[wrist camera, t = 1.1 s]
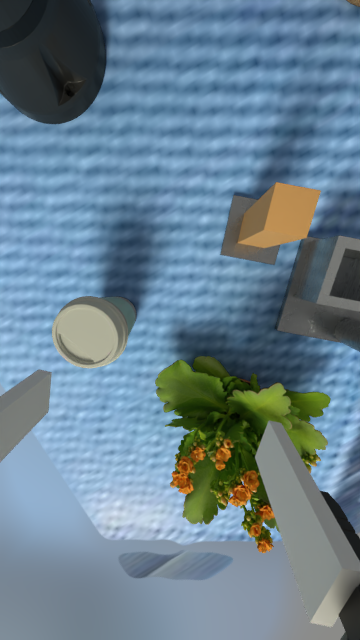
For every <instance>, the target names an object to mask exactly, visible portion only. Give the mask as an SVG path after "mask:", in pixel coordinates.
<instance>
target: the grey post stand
mask: <svg viewBox="0 0 360 640" xmlns="http://www.w3.org/2000/svg"><path fill="white" fill-rule="evenodd" d="M275 329H276V330H277V331H283V332H288V333H293V334H298V335H304V336H309V337H314V338H319V339H325V340H330V341H335V342H340V343H343V344H345V345H347V346H349V347H351V348H353V349H355V350H357V351H359V352H360V239H355V238H350V237H344V236H334V237H329V238H324V239H318V238H313V237H308V236H307V238H304V239H301V243H300V246H299V249H298V253H297V256H296V259H295V263H294V266H293V269H292V273H291V276H290V279H289V283H288V286H287V290H286V293H285V296H284V300H283V303H282V306H281V310H280V313H279V316H278V320H277V323H276V326H275Z"/></svg>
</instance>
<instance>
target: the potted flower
mask: <svg viewBox="0 0 360 640" xmlns="http://www.w3.org/2000/svg"><path fill="white" fill-rule="evenodd" d="M193 368H194V369H195V370H196V372H194V371H193V370H192V369H191V367H190V366H189V365H188V364H187V363H186V362H185V361H183V360H177V361H176V362H175V363H173V364H172V365H171V366H169V367H167V368H166V369H164V370H163V371H162V372H160V373H159V375H158V378H157V379H156V381H155V384H156V386H158V387H159V388H158V389H157V390H156V393H157V396H158V397H160V400H161V401H162V402H164V403H166V404H164V407H163V409H164V412H170V411H172V410H175V411H174V413H175V414H176V415H178V416H182V417H183V418H181V419H173V420H172V423H171V424H167V425H165V427H167V426H174V427H181V426H183V428H184V429H186V430H188V431H192V430H194V429H195V430H194V431H193V432H190V433H188V434H187V435H184V436H183V438H184V440H181V445H180V446H179V447H178V450H179V451H180V452H179V453H178V454H176V455H175V457H176V458H175V459H176V461H177V463H176V464H175V469H176V471H173V473H172V477H173V481H172V482H171V483H170V486H171V487H172V488H174V487H177V488H180V489H179V492H180V493H181V492H182V493H183V494H187V495H186V497H185V502H184V507H185V508H184V511H183V516H182V517H183V518H184V517H186V519H187V520H188V521H189V522H190V523H192V524H197V523H198V522H199V523H200V524H202V522H203V521H204V523H205V524H206V525H208V524H209V523H210V522H211V521H212V520H213V519H214V515H215V516H217V515H218V507H217V504H218V506H219V508H220V509H221V510H225V509H226V507H227V504H228V502H230V503H232V505H234V506H236V507H238V506H241V505H242V506H241V507H240V508H243V509H244V511H245V516H244V521H243V522H242V525H241V526H243V528H244V530H246V528H247V531H248V534H249V536H250V537H251V538H252V537H255V542H256V544H258V546H257V548H258V549H259V552H261V551H262V553H265V552H266V551H267V550H268V551H270V549H272V547H273V545H272V542H273V541H272V538H271V537H270V535H271V533H270V532H269V531H270V530H266V528H265V527H264V526H262V523H263V522H265V524H266V525H267V526H268V527H270V528H275V526H276V529H277V530H278V531H279V528H278V525H277V522H276V519H275V516H274V513H273V510H272V507H271V504H270V501H269V498H268V495H267V492H266V489H265V486H264V483H263V480H262V477H261V474H260V471H259V468H258V465H257V462H256V459H255V456H256V453H257V450H258V448H259V445H260V442H261V440H262V437H263V434H264V432H265V429H266V427H267V424H268V421H274V422H278V423H281V424H282V425H283V427H284V429H285V431H286V432H287V434H288V436H289V438H290V439H291V441H292V443H293V445H294V446H295V448H296V450H297V452H298V453H299V455H300V457H301V459H302V461H303V462H304V464H305V466H306V468H307V469H308V471H309V473H311V466H310V465H309V463H310V464H311V465H312V466H315V467H316V466H317V464H316V460H317V461H321V459H320V458H319V457H318V455H317V454H316V451H315V449H318V450H320V449H322V450H325V449H326V447H325V446H326V445H327V444H328V442H327V440H326V438H325V437H324V436H323V435H322V433H321V432H320V431H318V430H315V429H314V426H313V425H312V424H310V423H308V422H309V421H310V417H309V416H312V417H320V416H322V415H323V414H324V413H323V411H322V409H323V408H326V407H328V404H329V403H330V397H329V396H328V395H326V394H324V393H320V392H308V393H299V392H294V391H289V390H287V389H284V387H283V385H282V384H281V383H275V384H273V385H271V386H270V387H269V388H263V389H260V386H258V383H257V379H256V378H257V375H256V374H254V373H253V374H252V375H251V379H250V381H247V380H244V379H240V378H238V377H235V376H232V377H230V375H229V373H228V372H227V371H226V369H225V368H224V367H223V366H222V364H221V363H220V362H219V361H218V360H217V359H215V358H214V357H210V356H207V357H205V356H199V357H197V358H196V359H195V360H194V363H193ZM167 402H168V403H167ZM176 409H177V410H176ZM299 419H301V420H299ZM306 421H307V422H306ZM242 481H244V485H245V486H244V485H243V484H242ZM230 494H233V496H232V497H231V498H230ZM229 498H230V499H229ZM228 500H229V501H228ZM248 500H250V503H251V507H252V510H251V511H250V510H248V511H247V510H246V508H245V505H246V504H247V501H248ZM253 507H254V508H253ZM254 509H255V512H254ZM279 532H280V531H279ZM270 543H271V544H270ZM271 546H272V547H271Z"/></svg>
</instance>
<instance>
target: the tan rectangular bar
mask: <svg viewBox="0 0 360 640" xmlns="http://www.w3.org/2000/svg"><path fill="white" fill-rule="evenodd" d="M320 192H321V191H320V190H315V189H309V188H304V187H299V186H293V185H288V184H283V183H278V182H276V183H275V184H274V185H273V186H272V187H271V188H270V189H269V190H268V191H267V192H266V193H265V194H264V195H263V196H262V197H261V198H260V199H259V200H258V201H256V202H255V203H254V204H253V205H252V206H251V207H250V208H249V209H248V210H247V211H246V212H245V213H244V217H243V221H242V226H241V230H240V234H239V239H238V243H240V244H246V245H251V246H256V247H262V248H267V247H271V246H275V245H280V244H284V243H288V242H292V241H296V240H300V239H304V238H307V235H308V231H309V228H310V225H311V221H312V218H313V215H314V212H315V208H316V205H317V202H318V198H319V195H320Z"/></svg>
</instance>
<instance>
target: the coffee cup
mask: <svg viewBox="0 0 360 640" xmlns="http://www.w3.org/2000/svg"><path fill="white" fill-rule="evenodd" d="M135 321H136V310H135V308H134V306H133V304H132V303H131V302H130V301H129V300H127V299H125V298H123V297H103V298H98V297H92V296H86V297H80V298H77V299H74V300H72V301H71V302H69V303H68V304H66V305H65V306H64V307H63V308H62V309H61V311H60V312H59V314H58V315H57V317H56V319H55V321H54V323H53V327H52V337H53V342H54V345H55V347H56V349H57V350H58V352H59V353H60V355H61V356H62V357H63V358H64V359H65V360H67V361H68V362H70V363H71V364H73V365H76V366H78V367H82V368H96V367H101V366H104V365H107V364H109V363H111V362H113V361H114V360H116V359H117V358H118V357H119V356H120V355H121V354H122V353H123V351H124V349H125V347H126V344H127V340H128V336H129V334H130V332H131V329H132V327H133V325H134V323H135Z"/></svg>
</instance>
